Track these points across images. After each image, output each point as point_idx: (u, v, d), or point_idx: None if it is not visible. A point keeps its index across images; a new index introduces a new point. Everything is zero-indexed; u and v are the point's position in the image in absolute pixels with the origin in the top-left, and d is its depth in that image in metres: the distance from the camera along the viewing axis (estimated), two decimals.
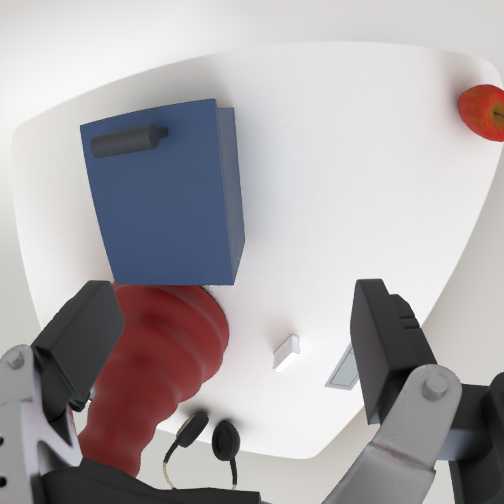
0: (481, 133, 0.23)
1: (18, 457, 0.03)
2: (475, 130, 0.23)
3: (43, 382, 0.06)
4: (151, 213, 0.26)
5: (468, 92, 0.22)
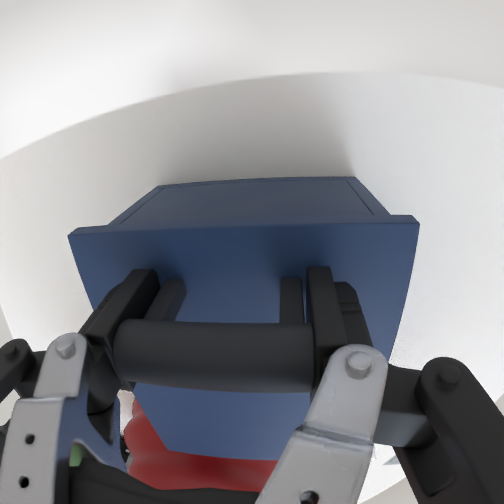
0: None
1: (47, 462, 0.03)
2: None
3: (96, 371, 0.06)
4: (241, 402, 0.14)
5: None
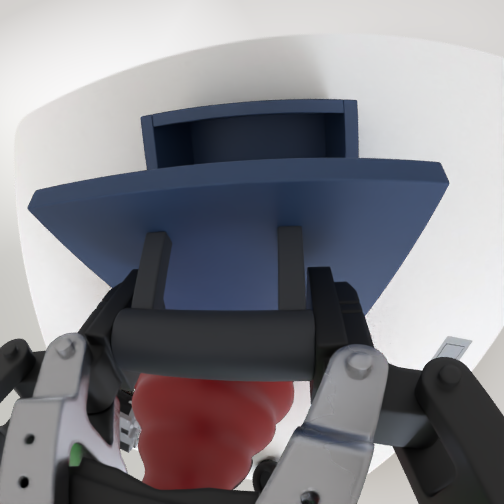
0: None
1: (47, 461, 0.03)
2: None
3: (96, 371, 0.06)
4: (242, 308, 0.15)
5: None
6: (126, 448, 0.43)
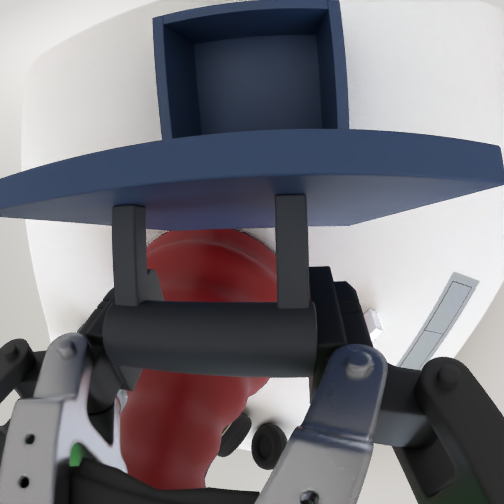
0: None
1: (47, 462, 0.03)
2: None
3: (96, 371, 0.06)
4: (237, 220, 0.14)
5: None
6: None
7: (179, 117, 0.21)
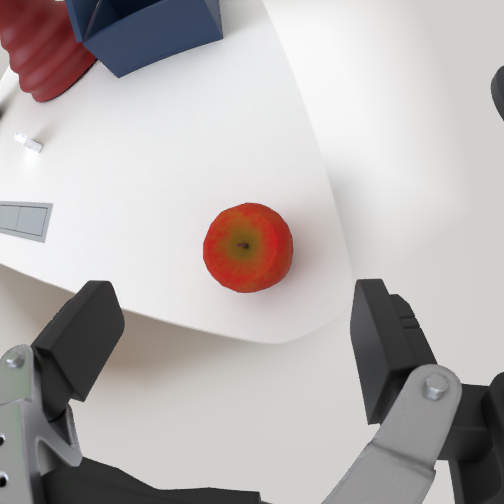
0: None
1: (18, 457, 0.03)
2: None
3: (43, 382, 0.06)
4: None
5: None
6: None
7: None
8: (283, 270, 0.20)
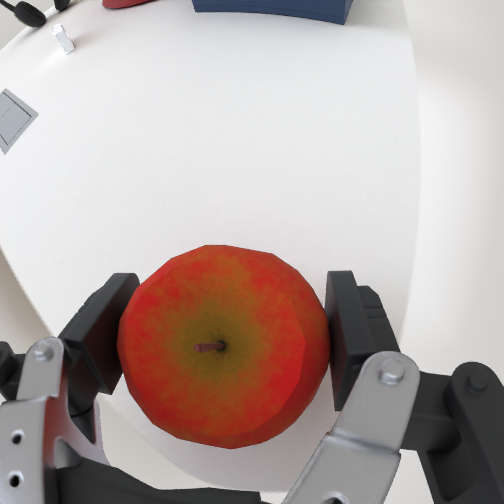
0: None
1: (34, 459, 0.03)
2: None
3: (73, 374, 0.06)
4: None
5: None
6: None
7: None
8: None
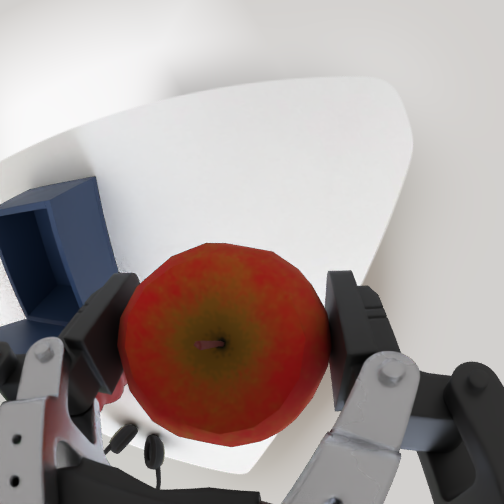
0: None
1: (35, 459, 0.03)
2: None
3: (73, 375, 0.06)
4: None
5: None
6: None
7: (17, 263, 0.30)
8: None
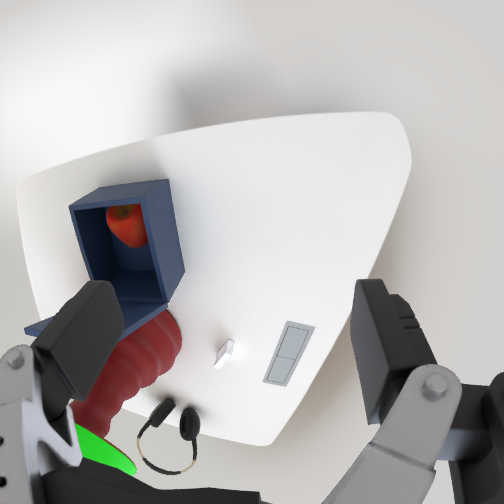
0: None
1: (18, 457, 0.03)
2: None
3: (42, 382, 0.06)
4: None
5: None
6: None
7: (93, 250, 0.42)
8: (132, 226, 0.39)
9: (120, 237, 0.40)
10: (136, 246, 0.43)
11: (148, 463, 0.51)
